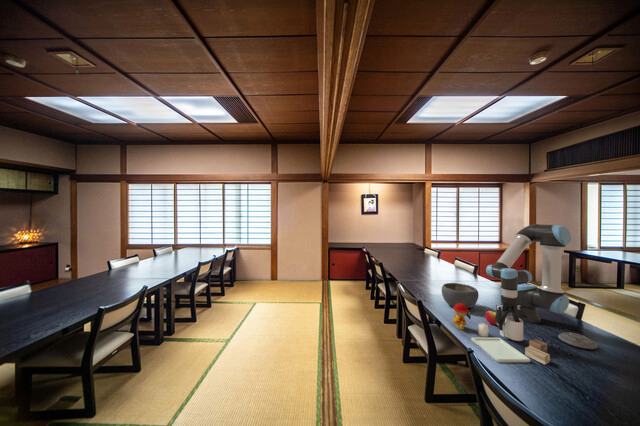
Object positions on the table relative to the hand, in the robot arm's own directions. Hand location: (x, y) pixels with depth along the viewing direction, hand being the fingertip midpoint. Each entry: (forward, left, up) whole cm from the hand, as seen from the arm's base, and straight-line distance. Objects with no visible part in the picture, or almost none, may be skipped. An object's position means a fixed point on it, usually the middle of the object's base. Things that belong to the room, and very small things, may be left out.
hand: (509, 335), depth 138 cm
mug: (0, 0, -1) cm, 1 cm away
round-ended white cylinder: (+12, -4, -2) cm, 13 cm away
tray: (+15, +12, -2) cm, 20 cm away
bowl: (+1, -47, -2) cm, 47 cm away
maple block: (+1, +19, -2) cm, 19 cm away
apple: (-4, -18, -2) cm, 18 cm away
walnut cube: (-5, +13, -2) cm, 14 cm away
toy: (+20, -13, -2) cm, 24 cm away
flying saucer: (-34, +5, -2) cm, 34 cm away
